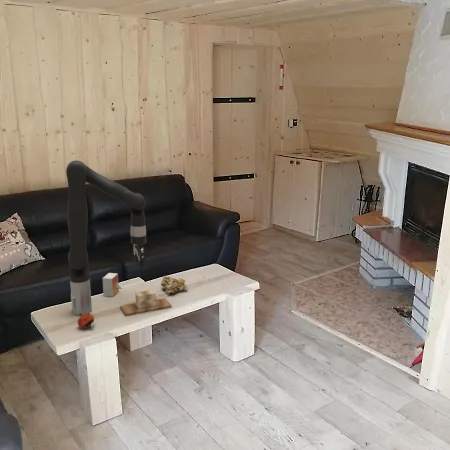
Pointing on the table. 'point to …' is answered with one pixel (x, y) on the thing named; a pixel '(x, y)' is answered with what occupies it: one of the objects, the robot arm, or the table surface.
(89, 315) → the pomegranate
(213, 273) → the table surface
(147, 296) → the sanding block
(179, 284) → the mineral formation
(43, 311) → the table surface
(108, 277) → the small box
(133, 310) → the board
